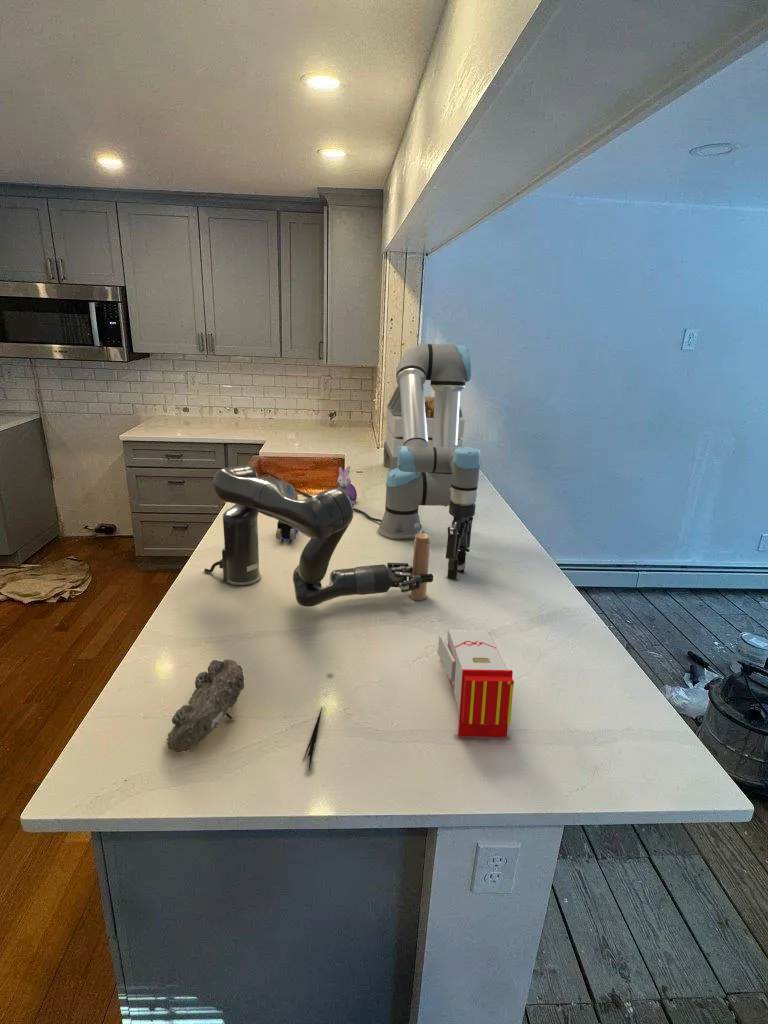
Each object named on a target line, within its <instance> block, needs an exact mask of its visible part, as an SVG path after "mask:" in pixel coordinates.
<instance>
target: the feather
mask: <svg viewBox="0 0 768 1024" xmlns="http://www.w3.org/2000/svg"><path fill="white" fill-rule="evenodd" d="M329 675H330V676H331V675H332V674H331V673H330V674H329ZM322 710H323V707H321V708H320V710H319V713H318V716H317V719H316V723H315V725H314V728H313V731H312V733H311V737H310V739H309V742H308V745H307V748H306V751H305V754H304V757H303V760H302V763H301V767H302V765H303V763H304V761H305V758H308V759H309V760H308V762H307V763H308V764H307V766H308V771H310V770H311V766H312V765H311V764H312V760H313V757H315V756H314V755H315V751H316V749H315V746H317V739H318V733H319V729H320V722H321V717H322V712H323V711H322ZM313 754H314V755H313ZM306 755H307V757H306Z"/></svg>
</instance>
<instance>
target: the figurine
mask: <svg viewBox="0 0 768 1024" xmlns="http://www.w3.org/2000/svg"><path fill="white" fill-rule="evenodd" d="M350 473H351V466H350V465H348V466H347V467H346V468H345V469H344V468H343V467H342V466H339V467H338V477H337V480H336V483H337V486H338V487H337V488H338V489H341V490H342V491H344V492H345V493H346V494H347V496H348V497H349V499H350V501H351V503H352V505H355V504H356V503H357V498H358V494H357V489H356V486H354V485H353V484H352V480H351V477H350Z"/></svg>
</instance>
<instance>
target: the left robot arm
mask: <svg viewBox="0 0 768 1024" xmlns="http://www.w3.org/2000/svg"><path fill="white" fill-rule="evenodd" d="M279 479H280V478H279ZM279 479H276V478H274V477H272V476H259V474H258V471H256V468H255V467H254V466H252V465H251V464H241V465H233V466H229V467H228V466H227V467H223V468H220V469H219V470H217V471H216V472H215V473H214V476H213V479H212V486H213V489H214V492H215V493H216V495H217V497H219V499H221V501H223V502H225V503H230V504H234V505H232V507H229V508H228V509H226V511H224V513H223V514H222V526H223V543H224V545H223V546H224V547H223V549H222V550H221V559H220V560H219V561H216V562H214V563H212V565H211V567H210V568H204V569H203V570H204V572H205V573H208V574H210V573H212V572H214V570H215V568H216V567H217V566H219V567H218V568H219V569H222V575H223V582H226V583H228V584H230V585H233V586H240V587H241V586H248V585H253V584H255V583H257V582H259V580H260V578H261V577H260V576H261V575H260V554H259V526H258V525H259V524H258V517H259V513H260V514H262V515H264V516H266V517H269V518H272V519H274V520H278V521H281V522H283V523H286V524H288V525H290V526H291V527H293V528H294V529H296V530H298V533H301V534H303V535H304V536H306V537H307V538H309V540H308V542H307V543H306V545H305V546H304V547H303V549H302V551H301V554H300V558H299V561H298V565H297V566H296V567H295V568H294V570H293V572H292V582H293V583H292V584H293V587H294V589H293V590H294V594H295V600H296V603H297V604H298V605H300V606H301V607H306V608H311V607H316V606H318V605H320V604H323V603H324V602H328V601H330V600H333V599H337V598H339V597H347V596H364V595H365V596H366V595H373V594H374V595H375V594H382V593H383V594H384V593H387V592H389V590H390V589H391V588H400V592H401V593H408V592H411V590H415V589H418V588H420V584H421V583H427V584H428V583H432V582H433V581H434V575H433V573H428V574H423V575H412V565H409V563H407V562H387V563H386V564H384V563H382V564H381V563H380V564H371V565H361V566H356V567H351V568H340V569H333V570H331V572H330V573H329V578H328V579H329V581H328V585H326V586H323V584H322V581H323V580H324V578H325V576H326V575H327V572H328V568H329V564H330V561H331V558H332V556H333V554H334V552H335V550H336V548H337V546H338V545H339V543H340V541H341V539H342V537H343V536H344V534H345V532H346V531H347V530H348V528H349V527H350V525H351V523H352V521H353V518H354V511H353V508H354V507H353V504H352V503H351V501H350V499H349V497H348V496H347V494H346V493H345V492H344V491H342V490H341V489H338V487H332V488H331V487H330V488H327V489H324V490H323V491H320V492H319V493H316V494H314V495H311V496H312V497H307V498H305V499H302V500H299V496H298V492H296V491H295V489H296V488H295V487H294V486H293V485H292V484H291V483H289V482H287V481H285V480H282V479H281V480H279ZM294 488H295V489H294ZM412 578H416V579H413V580H412Z"/></svg>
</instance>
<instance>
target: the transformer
mask: <svg viewBox="0 0 768 1024" xmlns="http://www.w3.org/2000/svg"><path fill="white" fill-rule="evenodd" d="M434 397H435V396H424V399H425V411H426V423H427V435H428V447H432V438H433V417H434ZM385 414H386V415H385V423H386V428H385V438H384V442H383V466H384V467H388V468H389V471H391V470H392V469H395V468H398V467H397V452H398V448H399V447H400V446H403V431H402V414H401V396H400V386H399V385H398V384H397V386H396V388H395V390H394V392H393V394H392V395H391V398H390V400H389V402H388V404H387V405H386V413H385ZM464 429H465V419H464V418H463V411H462V408H461V405H459V423H458V441H457V445H460V446H462V447H463V442H464V441H463V440H462V439H463V438H464V431H465V430H464Z"/></svg>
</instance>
